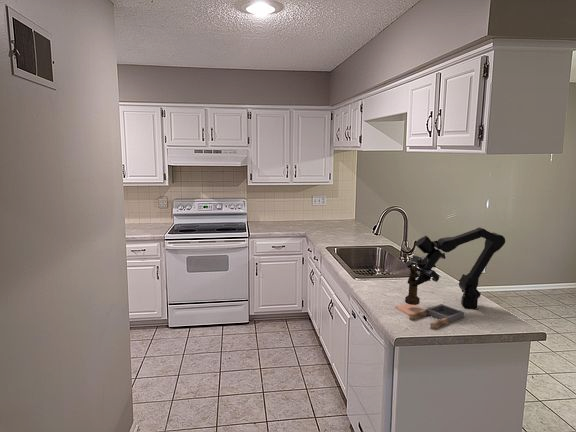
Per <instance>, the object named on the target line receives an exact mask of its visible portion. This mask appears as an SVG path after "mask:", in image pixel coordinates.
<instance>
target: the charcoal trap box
mask: <svg viewBox="0 0 576 432" xmlns="http://www.w3.org/2000/svg"><path fill="white" fill-rule="evenodd" d="M426 310H427V315H426V316H429V317H431V316H432V317H431V318H434V319H436V318H437V320H439V319H443V318H448V324H450V323H452V322H451V321H453V322H455V321H457V320H456V319H458V320H460V319H459V318H461V319H463V318H464V317H465V312H464V311H462V310H459V309H456V308H454V307H451V306H449V305H445V304H443V303H439V304H438V305H434V306H432V307H427V308H426ZM462 317H463V318H462ZM454 320H455V321H454ZM449 322H450V323H449Z"/></svg>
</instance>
